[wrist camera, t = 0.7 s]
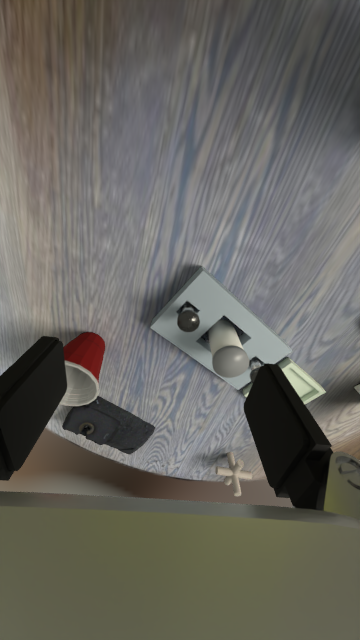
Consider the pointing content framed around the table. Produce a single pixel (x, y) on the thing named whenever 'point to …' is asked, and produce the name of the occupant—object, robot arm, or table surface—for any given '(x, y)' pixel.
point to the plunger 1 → (188, 318)
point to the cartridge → (227, 350)
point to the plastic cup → (83, 369)
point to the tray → (297, 381)
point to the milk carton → (357, 388)
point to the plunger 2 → (254, 368)
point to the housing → (210, 308)
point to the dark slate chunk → (109, 425)
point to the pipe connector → (234, 473)
